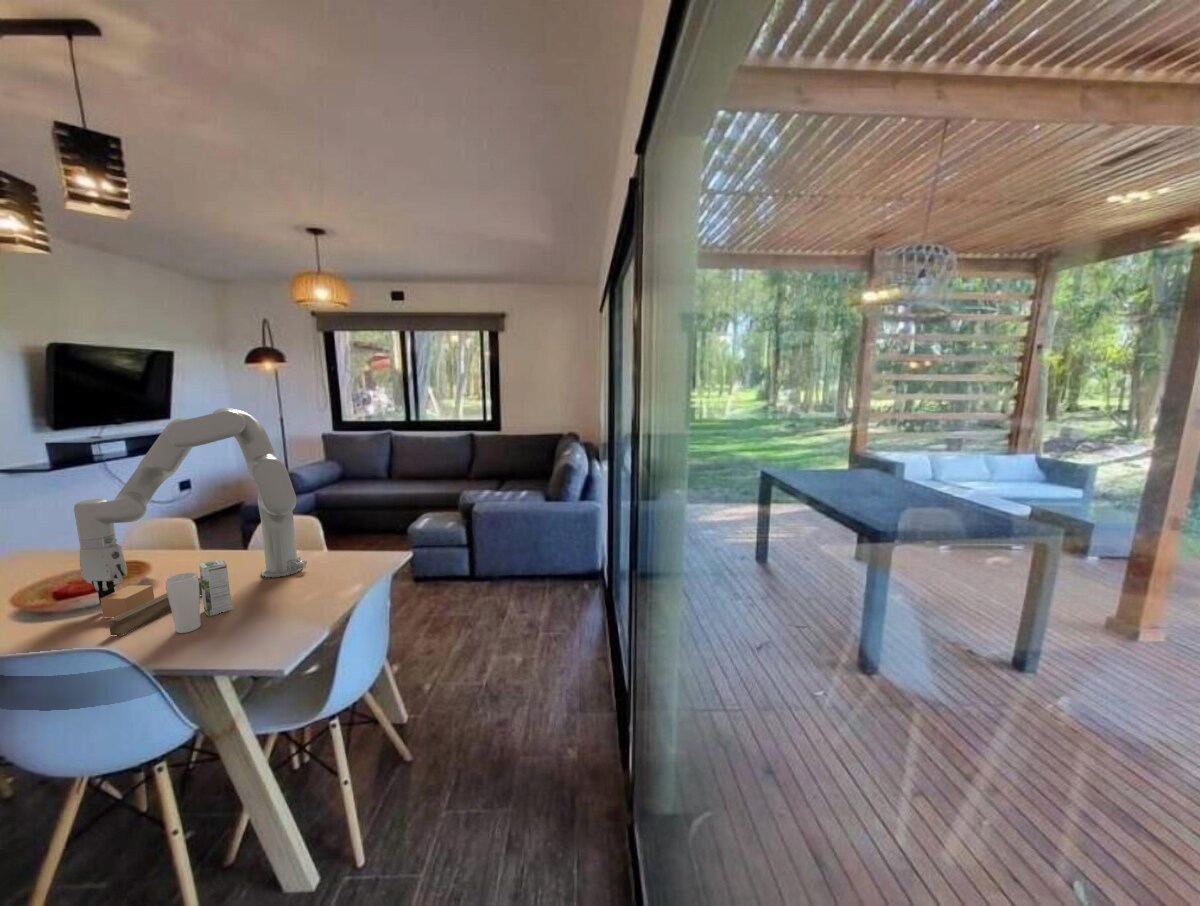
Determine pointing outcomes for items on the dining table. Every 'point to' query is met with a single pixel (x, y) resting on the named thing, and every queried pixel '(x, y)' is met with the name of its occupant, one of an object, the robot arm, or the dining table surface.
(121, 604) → the tan block
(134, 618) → the walnut board
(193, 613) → the drinking glass
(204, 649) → the dining table surface
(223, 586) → the syrup box
